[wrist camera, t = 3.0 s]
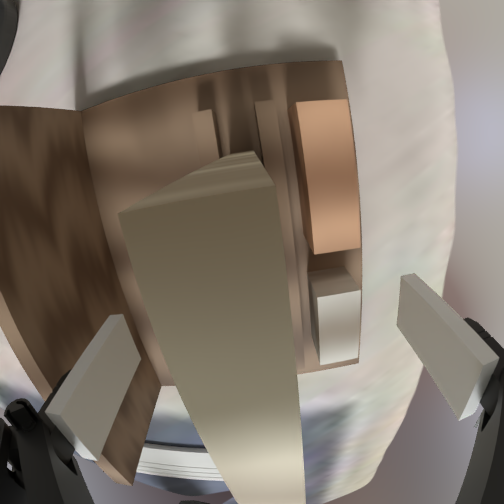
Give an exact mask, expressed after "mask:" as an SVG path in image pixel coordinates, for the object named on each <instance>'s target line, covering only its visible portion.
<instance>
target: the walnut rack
mask: <svg viewBox="0 0 504 504" xmlns="http://www.w3.org/2000/svg"><path fill="white" fill-rule="evenodd" d="M339 99H347V100H348V107H349V113H350V120H351V128H352V136H353V144H354V153H355V162H356V173H357V185H358V199H359V216H360V241H361V248H355V249H348V250H341V251H335V252H328V253H322V254H315V255H314V253H313V251H312V249H311V248H310V246H309V244H308V242H307V240H306V239H305V237H304V235H303V226H302V217H301V208H300V199H299V191H298V182H297V174H296V167H295V159H294V152H293V145H292V138H291V131H290V124H289V118H288V111H287V110H288V109H289V108H290V107H291V106H292V105H294V104H295V103H296V102H306V101H320V100H339ZM252 150H253V151H254V152H255V154H256V155H257V157H258V158H259V160H260V162H261V163H262V165H263V166H264V168H265V169H266V171H267V173H268V174H269V176H270V177H271V179H272V181H273V182H274V184H275V186H276V193H277V200H278V208H279V215H280V223H281V231H282V239H283V247H284V255H285V263H286V272H287V281H288V290H289V299H290V308H291V318H292V327H293V337H294V348H295V358H296V369H297V374H303V373H309V372H315V371H321V370H326V369H332V368H337V367H342V366H347V365H351V364H356V363H359V350H360V333H361V311H362V234H361V211H360V195H359V182H358V170H357V159H356V150H355V141H354V133H353V125H352V118H351V111H350V104H349V98H348V92H347V86H346V81H345V75H344V70H343V65H342V61H306V62H290V63H278V64H268V65H260V66H252V67H244V68H238V69H231V70H225V71H219V72H214V73H209V74H204V75H199V76H194V77H189V78H185V79H181V80H177V81H172V82H169V83H165V84H161V85H157V86H154V87H150V88H147V89H143V90H140V91H136V92H133V93H130V94H127V95H124V96H121V97H118V98H115V99H112V100H109V101H106V102H104V103H101V104H98V105H95V106H93V107H90V108H88V109H85V110H83V111H75V110H65V109H54V108H41V107H25V106H0V326H1V328H2V330H3V332H4V334H5V336H6V338H7V340H8V342H9V344H10V346H11V348H12V349H13V351H14V353H15V355H16V357H17V358H18V360H19V362H20V364H21V365H22V367H23V369H24V370H25V372H26V373H27V375H28V377H29V378H30V380H31V381H32V383H33V384H34V386H35V387H36V389H37V390H38V392H39V393H40V395H41V396H42V398H43V399H44V401H46V400H47V398H48V396H49V395H50V393H52V390H53V389H54V387H55V386H56V384H57V383H58V381H59V380H60V378H61V377H62V376H63V375H64V374H65V373H66V372H68V371H69V370H72V368H73V367H74V365H75V364H76V363H77V361H78V360H79V358H80V357H81V355H82V354H83V352H84V351H85V349H86V348H87V346H88V345H89V344H90V342H91V341H92V339H93V338H94V337H95V335H96V334H97V332H98V331H99V329H100V328H101V327H102V325H103V324H104V323H105V321H106V320H107V318H108V317H109V316H110V315H118V314H123V315H124V318H125V321H126V323H127V326H128V328H129V331H130V333H131V336H132V338H133V341H134V343H135V345H136V348H137V350H138V352H139V355H140V357H141V360H140V362H139V365H138V367H137V369H136V371H135V373H134V376H133V378H132V380H131V382H130V385H129V387H128V389H127V392H126V394H125V396H124V399H123V401H122V403H121V406H120V408H119V410H118V413H117V415H116V417H115V420H114V422H113V425H112V427H111V430H110V432H109V435H108V437H107V440H106V442H105V445H104V447H103V450H102V452H101V455H100V457H99V460H98V461H95V460H93V461H94V462H95V463H96V464H97V465H98V466H99V467H100V468H101V469H102V470H103V471H104V472H105V473H106V474H107V475H108V476H109V477H110V478H111V479H112V480H114V482H116V483H118V484H124V485H130V486H133V482H134V478H135V475H136V471H137V467H138V464H139V460H140V456H141V453H142V449H143V446H144V442H145V439H146V435H147V432H148V428H149V425H150V422H151V418H152V415H153V412H154V408H155V405H156V402H157V399H158V395H159V392H160V389H161V386H176V385H175V383H174V380H173V378H172V376H171V373H170V371H169V369H168V366H167V364H166V361H165V359H164V356H163V354H162V351H161V349H160V346H159V344H158V341H157V338H156V336H155V333H154V330H153V328H152V325H151V322H150V319H149V317H148V314H147V311H146V308H145V305H144V302H143V299H142V296H141V293H140V290H139V287H138V284H137V281H136V278H135V274H134V271H133V268H132V265H131V261H130V258H129V254H128V251H127V247H126V244H125V240H124V236H123V233H122V229H121V225H120V221H119V217H118V213H120V212H121V211H123V210H125V209H127V208H128V207H130V206H132V205H133V204H135V203H137V202H139V201H140V200H142V199H144V198H146V197H147V196H149V195H151V194H153V193H155V192H156V191H158V190H160V189H162V188H164V187H165V186H167V185H169V184H171V183H173V182H175V181H177V180H179V179H181V178H182V177H184V176H186V175H188V174H190V173H192V172H194V171H196V170H198V169H200V168H202V167H204V166H206V165H208V164H210V163H212V162H214V161H216V160H218V159H220V158H222V157H225V156H227V155H229V154H233V153H239V152H245V151H252ZM338 267H345V268H346V269H347V271H348V272H349V274H350V275H351V277H352V278H353V279H354V281H355V282H356V284H357V285H358V287H359V288H360V289H361V308H360V333H359V350H358V358H355V359H350V360H345V361H340V362H335V363H330V364H325V365H320V363H319V360H318V356H317V353H316V349H315V346H314V342H313V339H312V335H311V321H310V306H309V292H308V279H307V272H312V271H319V270H325V269H331V268H338Z"/></svg>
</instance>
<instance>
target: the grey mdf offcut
mask: <svg viewBox="0 0 504 504" xmlns="http://www.w3.org/2000/svg"><path fill="white" fill-rule="evenodd" d="M307 279H308V292H309V306H310V321H311V335H312V339H313V342H314V346H315V349H316V353H317V356H318V360H319V363H320V365H325V364H330V363H335V362H340V361H345V360H350V359H355V358H358V350H359V333H360V308H361V289H360V288H359V287H358V285H357V284H356V282H355V281H354V279H353V278H352V277H351V275H350V274H349V272H348V271H347V269H346V268H345V267H338V268H331V269H325V270H319V271H312V272H307Z"/></svg>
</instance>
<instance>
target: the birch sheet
mask: <svg viewBox="0 0 504 504" xmlns="http://www.w3.org/2000/svg"><path fill="white" fill-rule="evenodd" d="M118 217H119V221H120V225H121V229H122V233H123V236H124V240H125V244H126V247H127V251H128V254H129V258H130V261H131V265H132V268H133V271H134V274H135V278H136V281H137V284H138V287H139V290H140V293H141V296H142V299H143V302H144V305H145V308H146V311H147V314H148V317H149V319H150V322H151V325H152V328H153V330H154V333H155V336H156V338H157V341H158V344H159V346H160V349H161V351H162V354H163V356H164V359H165V361H166V364H167V366H168V369H169V371H170V373H171V376H172V378H173V380H174V383H175V385H176V387H177V389H178V392H179V394H180V396H181V398H182V401H183V403H184V405H185V407H186V409H187V411H188V413H189V415H190V418H191V420H192V422H193V424H194V426H195V428H196V430H197V432H198V434H199V436H200V438H201V440H202V442H203V443H204V445H205V447H206V449H207V451H208V453H209V455H210V457H211V458H212V460H213V462H214V464H215V466H216V467H217V469H218V471H219V473H220V475H221V476H222V478H223V480H224V481H225V483H226V485H227V486H228V488H229V490H230V491H231V493H232V495H233V496H234V498H235V500H236V501H237V503H238V504H306V502H305V481H304V463H303V447H302V432H301V418H300V405H299V393H298V381H297V369H296V358H295V348H294V337H293V327H292V318H291V308H290V299H289V290H288V281H287V272H286V263H285V255H284V247H283V239H282V231H281V223H280V215H279V208H278V200H277V193H276V186H275V184H274V182H273V181H272V179H271V177H270V176H269V174H268V173H267V171H266V169H265V168H264V166H263V165H262V163H261V162H260V160H259V158H258V157H257V155H256V154H255V152H254V151H253V150H252V151H245V152H239V153H233V154H229V155H227V156H225V157H222V158H220V159H218V160H216V161H214V162H212V163H210V164H208V165H206V166H204V167H202V168H200V169H198V170H196V171H194V172H192V173H190V174H188V175H186V176H184V177H182V178H181V179H179V180H177V181H175V182H173V183H171V184H169V185H167V186H165V187H164V188H162V189H160V190H158V191H156V192H155V193H153V194H151V195H149V196H147V197H146V198H144V199H142V200H140V201H139V202H137V203H135V204H133V205H132V206H130V207H128V208H127V209H125V210H123V211H121V212H120V213H118Z"/></svg>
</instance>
